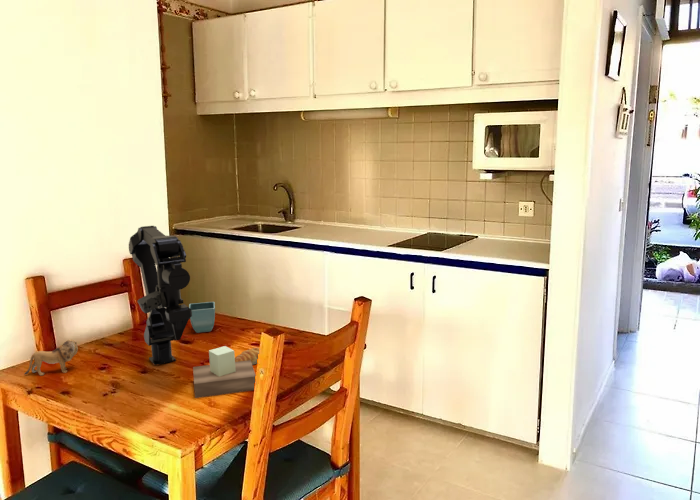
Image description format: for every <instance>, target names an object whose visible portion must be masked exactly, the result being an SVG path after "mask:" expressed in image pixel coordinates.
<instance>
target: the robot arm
mask: <svg viewBox="0 0 700 500" xmlns="http://www.w3.org/2000/svg"><path fill="white" fill-rule="evenodd" d="M128 241H129V242H128V252H129V254H130V255H131V256H132V261H133V262H134V263H135V264H136V265H137V266H138V267H139V268H140V273H141V277H142V282H143V286H144V291H145V296H142V297H141V298H138V300H137V301H136V302H137V303H138V305H139V308H140V309H141V311H142V312H143V313H144V314H148V317H147V319H146V326H145V330H144V333H143V338H144V343H146V345H148V346H149V347H151V348H150V349H151V356H150V357H148V359H149V361H150V362H151V363H152V364H153V365H154V366H159V365H162V364H163V365H164V364H167V363H171V362H176V361H177V360H176V358H175V356H174V355H172V354H173V353H172V352H173V351H172V341H181V339H182V336H183V333H184V332H185V329H186V326H187V325H188V322H189V320H190V317H192V310H191V309H190V308H189V306H187V305H186V304H185V303H184V299H183V298H182V296H181V295H182V294H181V290H183V289H185V288H187V286H189V284H190V281H191V276H190V273H189V271H187V269H184V268H183V265H182V263H187V259H186V258H187V253H186V251H185V248H184V246H183V243H182V241H181V240H180V239H179V238H178V236H176V235H165V234H164V233H163V232H161V231H160V230H159V229H158V228H157V226H155V225H145V226H140V227H138V228H137V232H135V233H134V234H132V236H130V237H129V240H128Z"/></svg>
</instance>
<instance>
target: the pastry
mask: <svg viewBox="0 0 700 500" xmlns="http://www.w3.org/2000/svg"><path fill="white" fill-rule="evenodd" d="M259 349H260V348H259V347H252V348H250V349H247V350H243V351H242V352H241V353H240V354H238V355H236V356H235V362H239V361H248V360H251V363H252V366H253V365H256V364H257V365H258V363H257V359H258V354H259Z"/></svg>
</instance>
